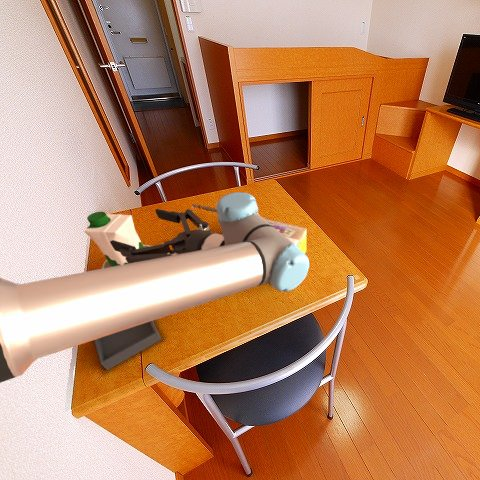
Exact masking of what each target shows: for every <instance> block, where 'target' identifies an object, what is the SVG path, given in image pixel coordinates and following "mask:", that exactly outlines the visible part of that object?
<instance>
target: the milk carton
mask: <svg viewBox="0 0 480 480" xmlns="http://www.w3.org/2000/svg"><path fill="white" fill-rule="evenodd" d="M86 219H87V221H88V223H89V225H88V226H87V227H86V229H85V230H84V231H83V232H84V233H85V234H86V235H87V236H88V237H89V238H90V239H91V240H92V241H93V242H94V243H96V245H97V247H98V248H99V250H100V251H101V253H102V254H103V256H104V257H105V259H106V260H108V262H109V263H110V265H111V266H112V267H114V266H119V265H125V264H128V262H127V261H126V259H125V258H126V257H124V256H122V254H121V253H120V252H118V251H115V250H114V248H113V246H112V245H111V243H110V241H112V240H114V241H118V242H121V243H125V244H128V245H131V246H135V247H136V249H140V248H144V246H143V245H144V244H143V243H142V240H141V238H140V236H139V234H138V232H137V231H136V228H135V224H134V221H133V216H132V214H122V213H118V214H117V213H106V212H104V211H95V212H92V213H91V214H89V215H88V216H87V218H86Z"/></svg>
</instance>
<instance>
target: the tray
mask: <svg viewBox="0 0 480 480" xmlns="http://www.w3.org/2000/svg"><path fill="white" fill-rule="evenodd" d="M93 341H94V345H95V348H96V353H97V356H98V359H99V363H100V365H101V366H102V367H103V368H104V369H105V370H106V371H109V370H111V369H112V368H114V367H115V366H118V365H119V364H121V363H122V362H125V361H127V360H128V359H129V358H132V357H133V356H135V355H137V354H138V353H140V352H142V351H144V350H146V349H148V348H149V347H152V345H154V344H156V343H158V342H160V341H162V337H161V335H160V333H159V331H158V329H157V326H156V325H155V322H154V320H153V321H150V322H147V323H144V324H141V325H138V326H135V327H132V328H129V329H126V330H123V331H120V332H117V333H114V334H110V335H107V336H104V337H101V338H98V339H95V340H93Z"/></svg>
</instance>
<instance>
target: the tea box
mask: <svg viewBox="0 0 480 480" xmlns="http://www.w3.org/2000/svg"><path fill="white" fill-rule="evenodd" d="M263 218H264V219H265V220H266V221H267V222H268V223H269V224H271V225H272V226H273V227H274V228H275V229H276V230H278V231H279V232H280V233H281V234H282V235H284V236H285V237H286V238H287V239H289V240H290V241H291V242H292V243H294V244H296V245H297V247H298V248H299V249H300V250H301V251H302V252H303V253H304V254H305V255H306V256H307V243H308V242H307V240H308V239H307V234H308V233H307V232H308V231H307V230H308V228H307V227H304V226H300V225H295V224H291V223H286V222H282V221H277V220H273V219H271V218H265V217H263Z"/></svg>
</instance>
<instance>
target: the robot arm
mask: <svg viewBox="0 0 480 480" xmlns="http://www.w3.org/2000/svg"><path fill="white" fill-rule="evenodd" d="M215 209H217V212H216V214H217V221H218V223H219V227H220V230H221V233H222V234H220V233H216V232H212V231H211V228H210V225H209V223H208V222H206V221H204V220H202V219H201V218H200V217H199V216H198V215H196V213H195V212H193V210H192V209H191V208H187V209H185V211H184V212H182V211H181V212H178V211H174V210H170V211H168V210H165V209H161V208H156V209H154V211H155V213H156V215H157V218H158V219H159V220H163V221H167V222H170V223H175V224H180V223H181V226H182V227H183V230H184V231H182V232H179V233H177V235H176V236H175V237H173V238H171V240H166V241H164V242H163V243H161V244H155V245H149V246H150V247H145V248H140V249H136V247H135V246H131V245H128V244H125V243H121V242H118V241H114V240H112V241H110V243H111V245H112V246H113V248H114V250H115V251H118V252H120V253H121V254H122V256H124V257H126V258H125V259H126V261H127V262H128V264H125V265H119V266H114V267H109V268H103V269H102V268H100V269H93V270H88V271H83V272H78V273H72V274H67V275H61V276H56V277H52V278H45V279H40V280H35V281H30V282H24V283H17V282H13V281H10V280H8V279H6V278H2V277H0V384H1V383H4V382H6V381H10V380H13V379H15V378H18V377H20V376H22V375H24V374H25V372H26V371H27V370H28V369H29V367H30V366H32V364H33V363H35V362H36V361H37V360H38V359H41V358H44V357H47V356H49V355H52V354H55V353H59V352H63V351H65V350H68V349H72V348H75V347H77V346H80V345H84V344H86V343H89V342H92V341H94V340H95V339H98V338H101V337H104V336H107V335H110V334H114V333H117V332H120V331H123V330H126V329H129V328H132V327H135V326H138V325H141V324H144V323H147V322H150V321H153V322H154V321H156V320H158V319H161V318H165V317H168V316H170V315H173V314H177V313H180V312H184V311H186V310H189V309H192V308H195V307H198V306H201V305H204V304H207V303H210V302H213V301H216V300H220V299H222V298H226V297H228V296H231V295H234V294H237V293H240V292H243V291H246V290H250V289H253V288H256V287H259V286H263V285H265V284H269V285H270V286H271V287H272V288H274V289H275V290H277V291H279V292H284V293H286V292H290V291H293V290H294V289H296V288H297V287H298V286H300V285H301V283H302V282H303V281H304V280H305V279H306V277H307V275H308V273H309V269H310V260H309V257H308V256H307V254H306V255H305V254H304V253H303V252H302V251H301V250H300V249H299V248H298V247H297V245H296V244H294V243H292V242H291V241H290V240H289V239H287V238H286V237H285V236H284V235H282V234H281V233H280V232H279V231H278V230H276V229H275V228H274V227H273V226H272V225H271V224H269V223H268V222H267V221H266V220H265V219H264V218H265V217H263V216H261V214H260V213H259V207H258V203H257V200H256V198H255V197H254V195H252V194H250V193H248V192H242V191H236V192H235V191H234V192H231V193H228V194H225V195H223V196H222V197H220V198H219V199H218V201H217V202H216V208H215ZM187 220H188V221H190V222H191V223H192V224H193V225H194V226H195V227H196V228H197V229H192V230H191V228H190V225H189V223H188V221H187ZM170 246H171V247H172V249H171V247H170Z"/></svg>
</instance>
